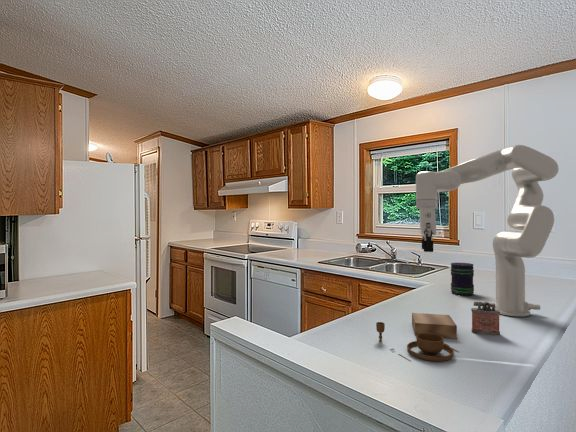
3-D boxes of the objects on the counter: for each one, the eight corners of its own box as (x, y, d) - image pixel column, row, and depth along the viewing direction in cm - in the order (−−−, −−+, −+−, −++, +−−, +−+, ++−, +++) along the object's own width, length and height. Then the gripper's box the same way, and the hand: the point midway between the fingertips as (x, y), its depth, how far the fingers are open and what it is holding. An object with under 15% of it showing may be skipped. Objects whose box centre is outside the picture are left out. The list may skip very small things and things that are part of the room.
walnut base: (449, 326, 117) (449, 315, 117) (456, 338, 106) (456, 325, 106) (411, 324, 120) (411, 312, 120) (415, 335, 109) (415, 322, 109)
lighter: (498, 332, 111) (498, 301, 111) (501, 336, 108) (501, 304, 108) (470, 330, 114) (470, 299, 114) (472, 333, 111) (472, 302, 111)
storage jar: (475, 294, 166) (474, 263, 166) (473, 298, 158) (472, 265, 158) (452, 292, 171) (451, 262, 171) (449, 296, 163) (449, 264, 163)
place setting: (419, 368, 86) (419, 345, 86) (372, 342, 105) (372, 322, 105) (471, 357, 93) (471, 335, 93) (418, 334, 111) (417, 316, 111)
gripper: (440, 203, 120) (441, 253, 120) (435, 205, 137) (435, 248, 136) (417, 204, 122) (418, 252, 122) (414, 205, 139) (415, 248, 139)
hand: (427, 250), depth 129 cm, fingers open, 9 cm apart
